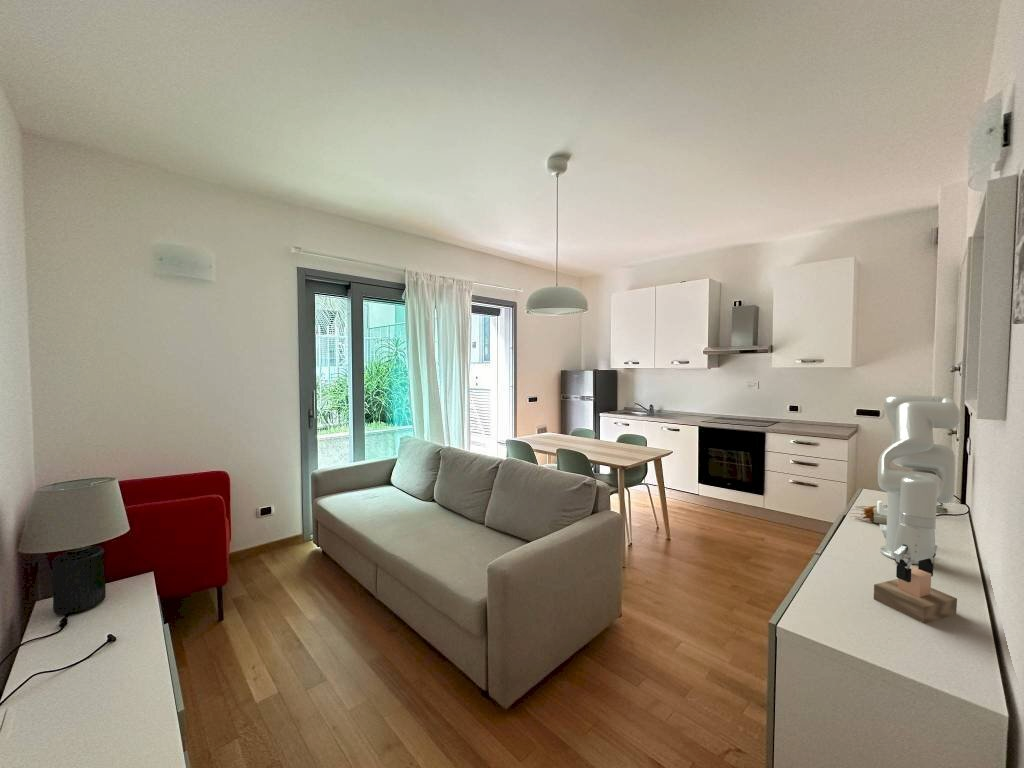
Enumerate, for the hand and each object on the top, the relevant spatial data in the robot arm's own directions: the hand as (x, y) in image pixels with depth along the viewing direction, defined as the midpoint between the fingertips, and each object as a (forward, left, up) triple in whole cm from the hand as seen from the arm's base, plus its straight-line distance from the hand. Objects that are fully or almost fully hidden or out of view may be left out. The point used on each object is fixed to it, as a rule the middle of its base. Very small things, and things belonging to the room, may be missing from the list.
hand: (914, 577), depth 118 cm
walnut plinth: (0, 0, -9) cm, 9 cm away
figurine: (-49, -33, -9) cm, 60 cm away
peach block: (0, 0, -4) cm, 4 cm away
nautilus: (-63, -46, -9) cm, 78 cm away
